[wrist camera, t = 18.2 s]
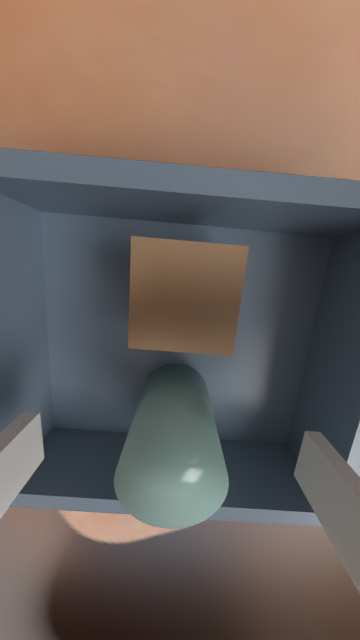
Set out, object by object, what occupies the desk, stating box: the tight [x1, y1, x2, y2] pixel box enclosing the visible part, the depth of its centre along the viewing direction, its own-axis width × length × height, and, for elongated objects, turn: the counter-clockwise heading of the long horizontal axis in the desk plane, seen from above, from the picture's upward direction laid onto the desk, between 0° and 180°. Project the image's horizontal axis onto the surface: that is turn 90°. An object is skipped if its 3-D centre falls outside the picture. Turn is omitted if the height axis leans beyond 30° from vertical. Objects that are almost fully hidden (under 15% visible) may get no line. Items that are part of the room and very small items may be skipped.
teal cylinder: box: [114, 364, 229, 528], centre depth 12 cm, size 5×5×7 cm
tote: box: [0, 148, 360, 527], centre depth 13 cm, size 18×21×6 cm
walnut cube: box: [128, 236, 249, 356], centre depth 12 cm, size 5×5×5 cm
